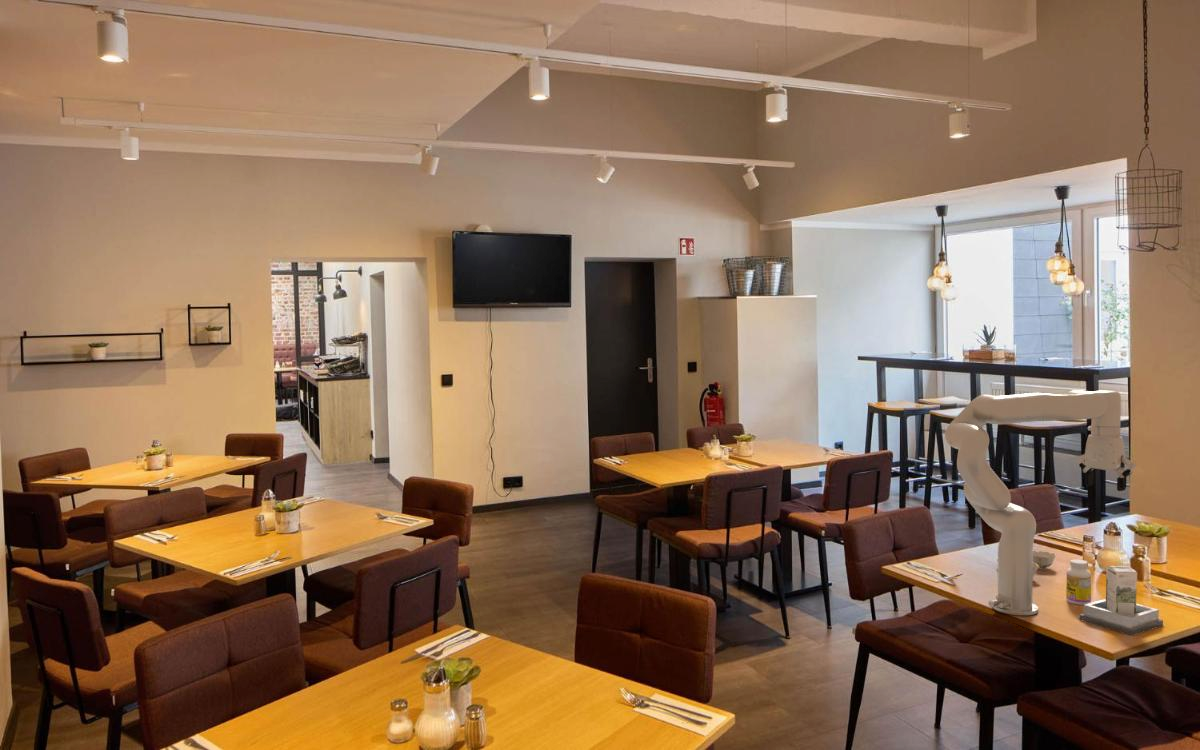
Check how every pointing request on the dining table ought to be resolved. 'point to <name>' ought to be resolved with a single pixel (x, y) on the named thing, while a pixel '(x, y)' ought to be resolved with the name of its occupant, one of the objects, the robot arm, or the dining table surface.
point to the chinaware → (1041, 560)
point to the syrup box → (1121, 590)
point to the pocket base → (1121, 618)
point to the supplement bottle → (1078, 583)
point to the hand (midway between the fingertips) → (1105, 487)
